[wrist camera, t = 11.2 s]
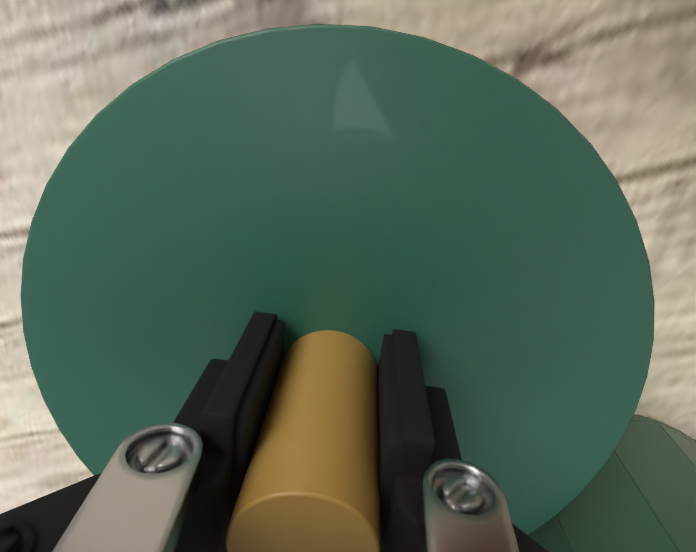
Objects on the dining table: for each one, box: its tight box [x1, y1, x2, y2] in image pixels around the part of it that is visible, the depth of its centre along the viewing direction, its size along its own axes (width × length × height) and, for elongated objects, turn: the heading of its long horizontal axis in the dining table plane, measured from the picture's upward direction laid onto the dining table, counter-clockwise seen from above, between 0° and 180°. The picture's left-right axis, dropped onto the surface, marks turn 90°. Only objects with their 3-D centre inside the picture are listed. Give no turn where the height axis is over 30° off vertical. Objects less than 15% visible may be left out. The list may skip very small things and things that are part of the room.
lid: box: [21, 24, 654, 552], centre depth 10 cm, size 16×16×6 cm
